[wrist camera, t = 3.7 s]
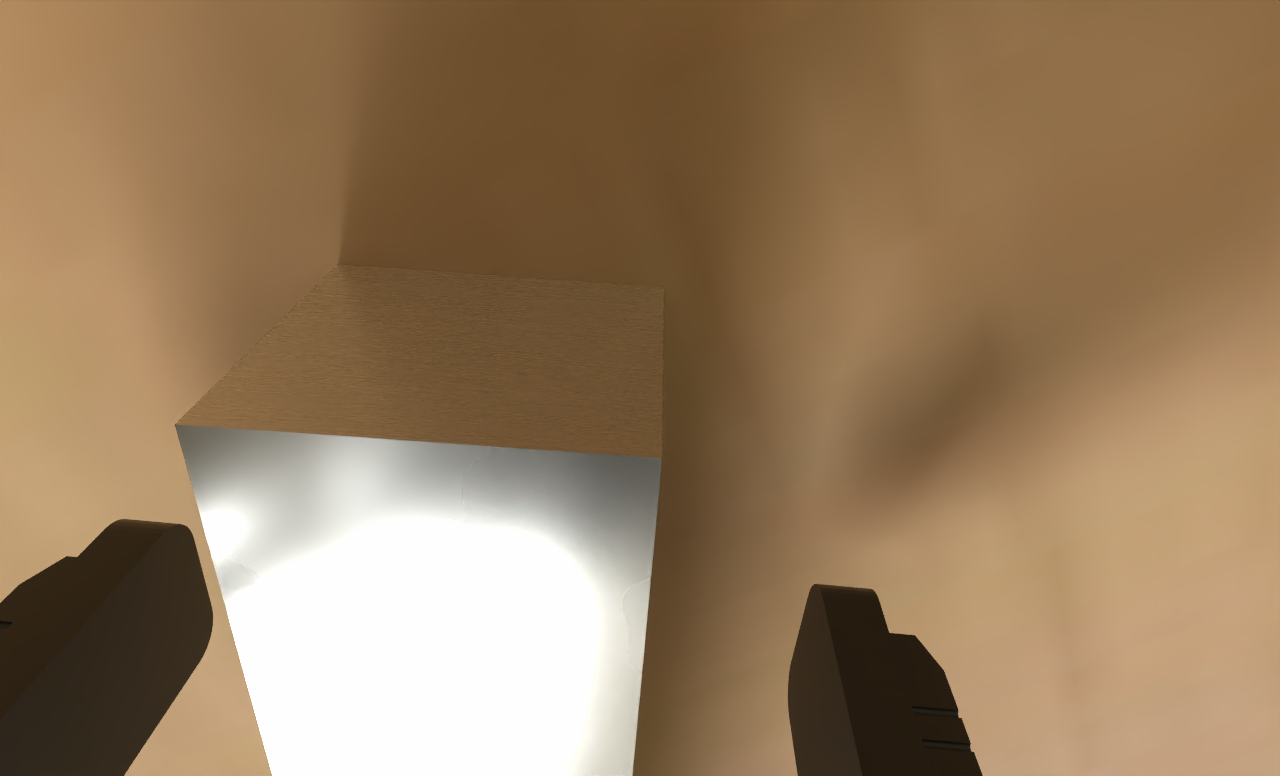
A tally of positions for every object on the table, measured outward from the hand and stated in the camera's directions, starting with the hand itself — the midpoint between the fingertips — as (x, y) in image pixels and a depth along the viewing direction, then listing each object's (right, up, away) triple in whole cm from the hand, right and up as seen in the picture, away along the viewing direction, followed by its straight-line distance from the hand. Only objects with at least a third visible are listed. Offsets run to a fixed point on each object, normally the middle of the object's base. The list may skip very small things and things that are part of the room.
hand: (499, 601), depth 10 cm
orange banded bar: (-1, -7, +6) cm, 9 cm away
